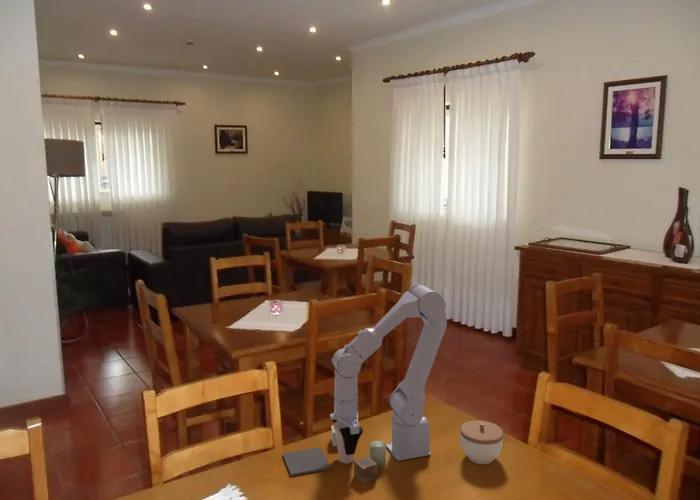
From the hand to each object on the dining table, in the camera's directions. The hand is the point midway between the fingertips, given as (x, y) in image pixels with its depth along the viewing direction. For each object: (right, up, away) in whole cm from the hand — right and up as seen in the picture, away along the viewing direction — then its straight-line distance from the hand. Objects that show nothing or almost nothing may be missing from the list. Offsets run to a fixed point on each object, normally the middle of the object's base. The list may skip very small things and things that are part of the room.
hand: (346, 447), depth 142 cm
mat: (-10, -4, -1) cm, 11 cm away
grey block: (-2, -2, +9) cm, 10 cm away
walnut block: (+5, -5, -7) cm, 10 cm away
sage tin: (+8, -4, -1) cm, 9 cm away
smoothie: (0, -4, +1) cm, 4 cm away
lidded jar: (+34, -3, +1) cm, 35 cm away
